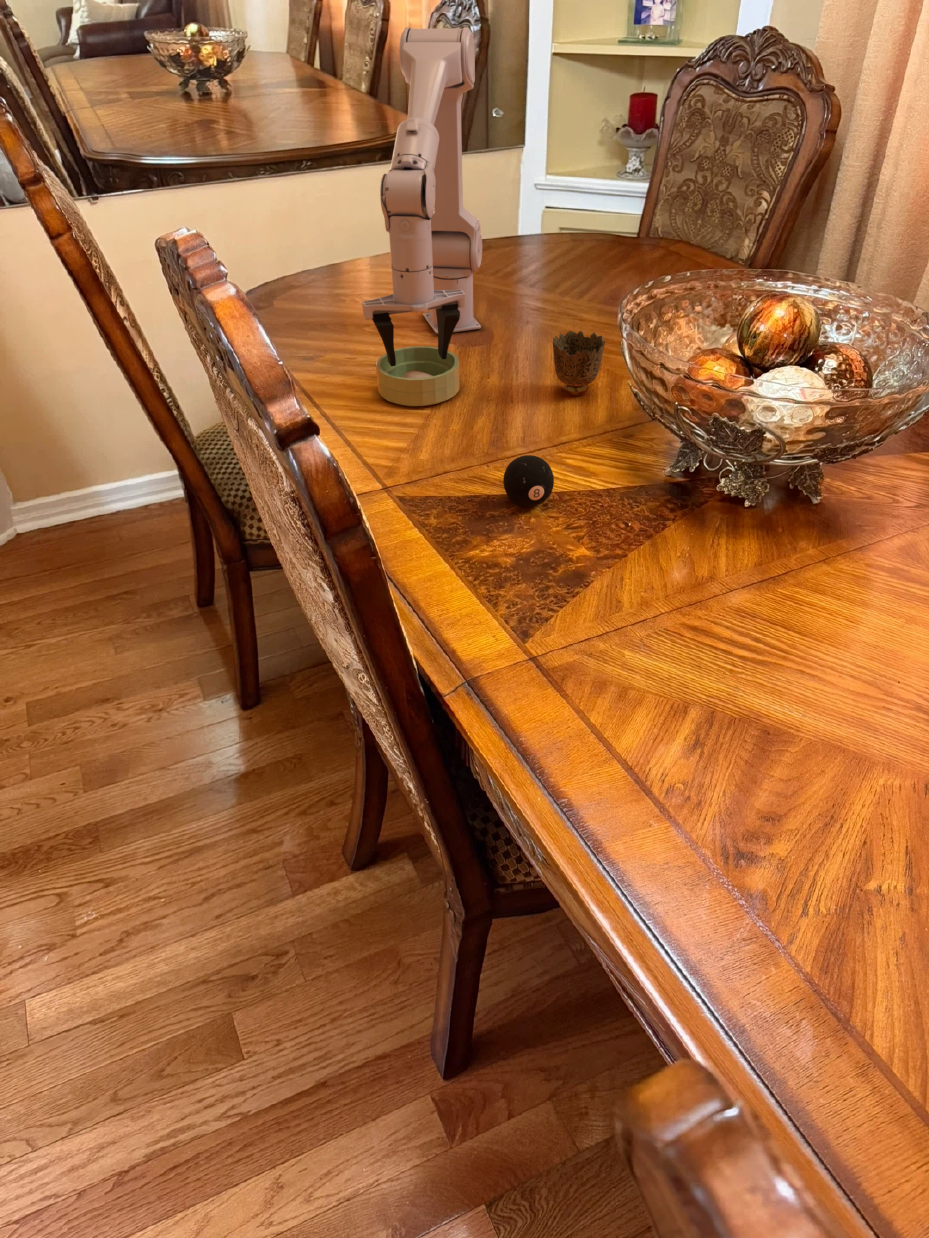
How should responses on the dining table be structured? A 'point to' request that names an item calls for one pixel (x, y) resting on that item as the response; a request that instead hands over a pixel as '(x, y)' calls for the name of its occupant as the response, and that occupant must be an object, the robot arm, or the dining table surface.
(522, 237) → the dining table surface
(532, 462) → the billiard ball
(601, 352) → the cup
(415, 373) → the seashell
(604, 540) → the dining table surface
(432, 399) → the bowl
